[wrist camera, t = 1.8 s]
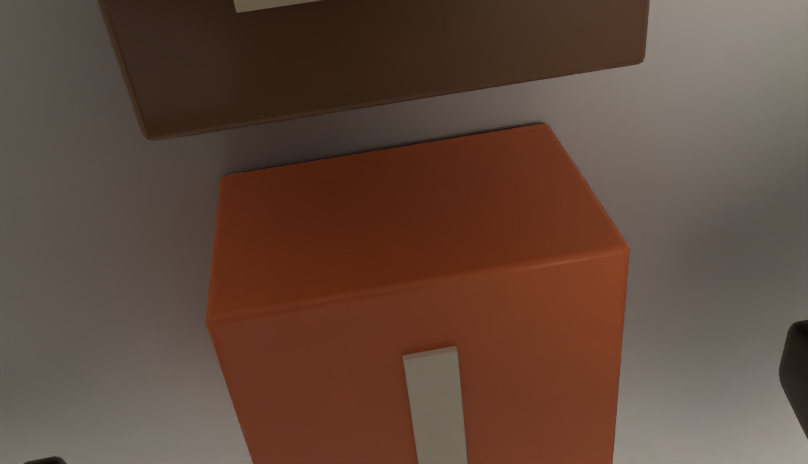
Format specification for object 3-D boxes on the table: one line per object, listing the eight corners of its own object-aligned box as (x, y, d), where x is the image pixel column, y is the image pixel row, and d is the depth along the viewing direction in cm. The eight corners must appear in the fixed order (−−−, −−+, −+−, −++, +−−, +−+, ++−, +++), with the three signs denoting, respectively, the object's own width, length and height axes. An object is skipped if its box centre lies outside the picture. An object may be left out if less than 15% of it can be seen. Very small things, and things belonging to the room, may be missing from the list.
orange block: (547, 357, 13) (614, 514, 11) (284, 405, 13) (286, 578, 10) (548, 119, 11) (636, 251, 8) (217, 173, 10) (201, 327, 8)
